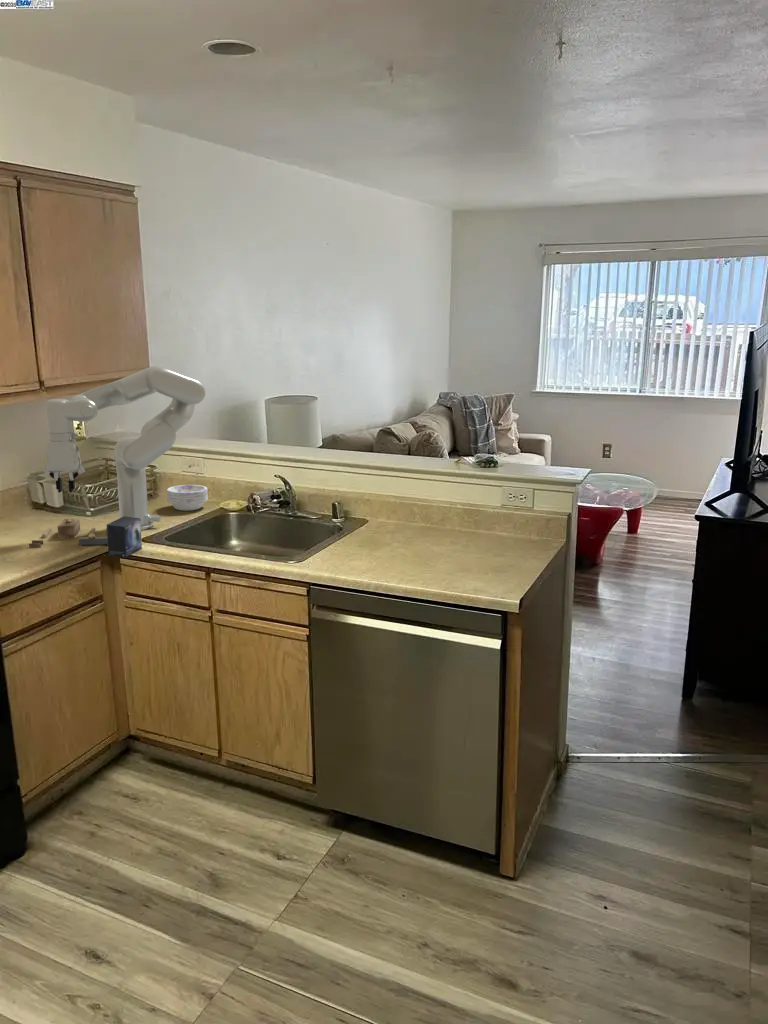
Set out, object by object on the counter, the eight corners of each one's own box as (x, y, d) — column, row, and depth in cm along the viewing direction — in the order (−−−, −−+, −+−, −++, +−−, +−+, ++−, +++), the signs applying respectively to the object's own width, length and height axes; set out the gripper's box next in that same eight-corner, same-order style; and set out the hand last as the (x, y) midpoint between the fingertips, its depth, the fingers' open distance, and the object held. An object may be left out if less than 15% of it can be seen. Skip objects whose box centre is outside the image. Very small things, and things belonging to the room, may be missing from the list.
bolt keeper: (43, 543, 255) (43, 540, 255) (40, 547, 251) (40, 543, 251) (32, 543, 254) (32, 540, 254) (28, 547, 251) (28, 543, 251)
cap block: (80, 531, 270) (79, 516, 269) (74, 538, 262) (72, 523, 260) (65, 531, 269) (64, 516, 268) (58, 539, 261) (57, 523, 260)
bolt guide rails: (95, 531, 270) (95, 527, 270) (91, 536, 263) (90, 533, 263) (48, 532, 268) (48, 528, 267) (42, 537, 261) (42, 534, 261)
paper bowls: (191, 501, 313) (190, 481, 311) (216, 507, 304) (215, 487, 302) (159, 508, 301) (158, 488, 299) (184, 515, 292) (183, 494, 290)
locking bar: (118, 542, 257) (117, 533, 257) (117, 544, 256) (116, 534, 255) (80, 543, 256) (79, 533, 255) (79, 544, 254) (78, 535, 253)
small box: (126, 558, 242) (124, 526, 240) (107, 556, 244) (105, 524, 241) (143, 548, 252) (141, 517, 250) (124, 546, 254) (122, 515, 251)
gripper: (89, 435, 262) (93, 488, 266) (38, 435, 259) (43, 489, 264) (84, 438, 254) (89, 493, 259) (31, 439, 252) (37, 494, 257)
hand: (65, 491), depth 261 cm, fingers open, 2 cm apart
